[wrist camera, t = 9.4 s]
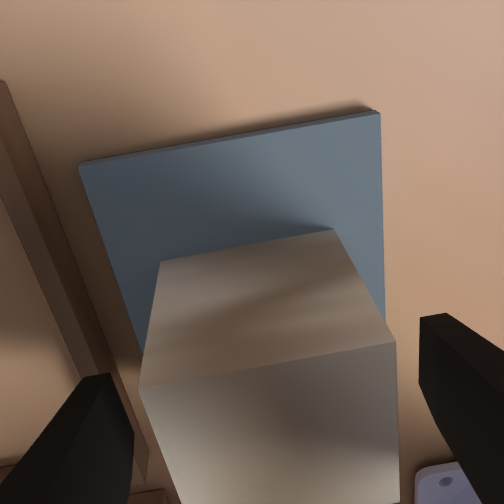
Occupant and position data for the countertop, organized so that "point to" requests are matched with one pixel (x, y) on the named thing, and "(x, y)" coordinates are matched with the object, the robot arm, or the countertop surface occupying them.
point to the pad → (240, 200)
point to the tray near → (56, 266)
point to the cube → (272, 377)
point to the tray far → (149, 498)
